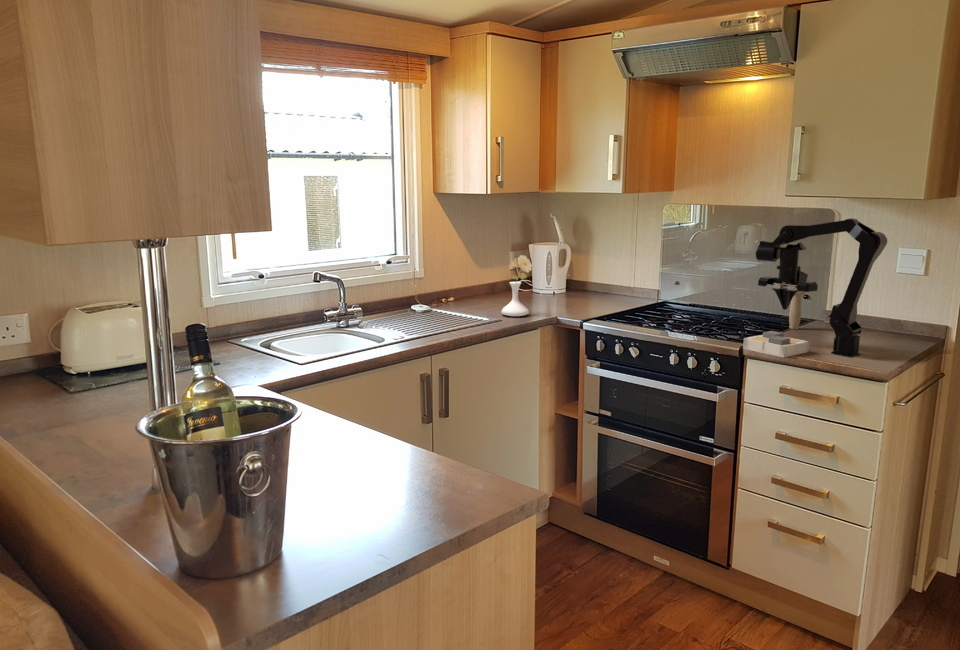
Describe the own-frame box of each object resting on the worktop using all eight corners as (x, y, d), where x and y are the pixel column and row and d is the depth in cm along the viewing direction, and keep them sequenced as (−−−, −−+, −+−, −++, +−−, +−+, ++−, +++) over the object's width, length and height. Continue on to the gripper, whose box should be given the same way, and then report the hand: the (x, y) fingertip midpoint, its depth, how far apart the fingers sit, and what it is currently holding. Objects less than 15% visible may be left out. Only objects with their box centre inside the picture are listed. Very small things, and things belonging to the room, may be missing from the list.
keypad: (808, 352, 237) (808, 341, 236) (783, 357, 230) (784, 346, 229) (767, 343, 249) (768, 333, 248) (743, 348, 242) (743, 338, 241)
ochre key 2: (800, 350, 238) (801, 340, 237) (791, 351, 235) (792, 342, 235) (787, 347, 241) (788, 338, 241) (779, 349, 239) (779, 340, 238)
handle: (800, 330, 271) (803, 290, 268) (782, 328, 275) (785, 288, 272) (805, 329, 274) (808, 289, 271) (788, 326, 279) (791, 287, 276)
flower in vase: (510, 319, 295) (510, 257, 290) (496, 314, 305) (496, 254, 300) (537, 316, 301) (538, 255, 296) (522, 312, 311) (523, 253, 306)
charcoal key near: (789, 347, 234) (790, 338, 233) (780, 349, 232) (781, 340, 231) (776, 345, 238) (777, 336, 237) (768, 346, 235) (768, 337, 235)
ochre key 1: (771, 348, 240) (772, 339, 239) (762, 350, 237) (763, 341, 236) (759, 346, 243) (760, 337, 243) (750, 347, 241) (751, 338, 240)
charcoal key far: (783, 341, 243) (783, 333, 242) (774, 343, 240) (775, 334, 239) (770, 339, 246) (771, 330, 246) (762, 341, 244) (762, 332, 243)
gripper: (829, 264, 239) (825, 311, 242) (778, 259, 255) (775, 303, 258) (809, 266, 233) (805, 314, 236) (758, 261, 249) (755, 306, 252)
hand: (785, 309), depth 246 cm, fingers closed
